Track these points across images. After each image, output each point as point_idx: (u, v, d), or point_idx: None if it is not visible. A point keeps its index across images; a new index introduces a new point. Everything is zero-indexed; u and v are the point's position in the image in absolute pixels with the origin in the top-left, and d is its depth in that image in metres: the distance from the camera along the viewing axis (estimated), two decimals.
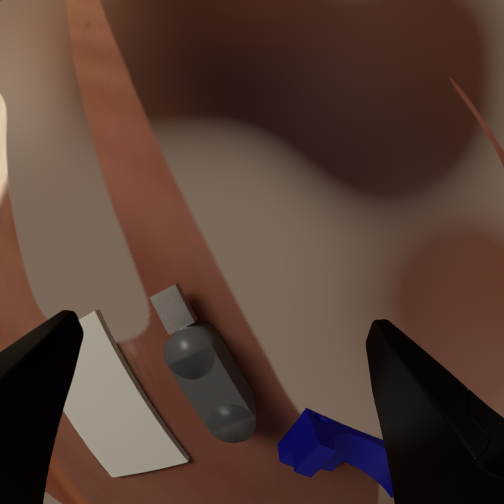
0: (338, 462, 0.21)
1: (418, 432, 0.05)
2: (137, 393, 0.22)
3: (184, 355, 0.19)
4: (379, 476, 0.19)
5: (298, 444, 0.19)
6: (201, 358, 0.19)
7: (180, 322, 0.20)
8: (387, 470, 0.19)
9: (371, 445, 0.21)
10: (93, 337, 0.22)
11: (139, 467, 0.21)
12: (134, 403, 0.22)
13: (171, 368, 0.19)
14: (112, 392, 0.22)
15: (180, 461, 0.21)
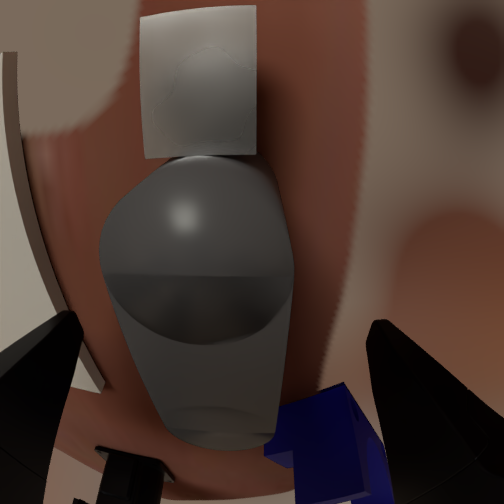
0: None
1: (418, 432, 0.05)
2: (32, 263, 0.09)
3: (174, 267, 0.05)
4: None
5: (313, 452, 0.11)
6: (232, 298, 0.05)
7: (205, 132, 0.05)
8: None
9: (372, 450, 0.15)
10: None
11: None
12: (24, 277, 0.09)
13: (112, 286, 0.05)
14: None
15: (88, 388, 0.13)
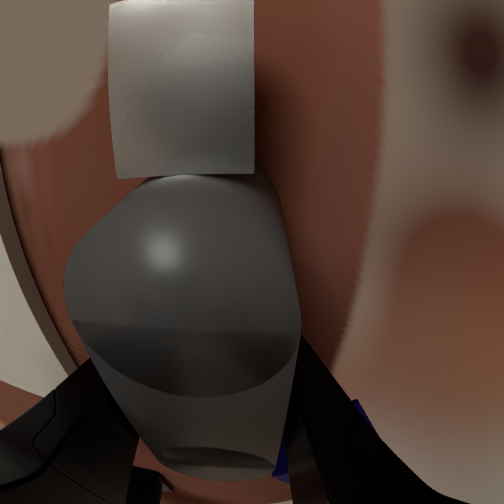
0: None
1: (298, 451, 0.05)
2: (15, 282, 0.08)
3: (152, 320, 0.04)
4: None
5: None
6: (225, 355, 0.04)
7: (188, 145, 0.04)
8: None
9: None
10: None
11: (17, 382, 0.12)
12: (8, 297, 0.08)
13: (84, 333, 0.04)
14: None
15: None
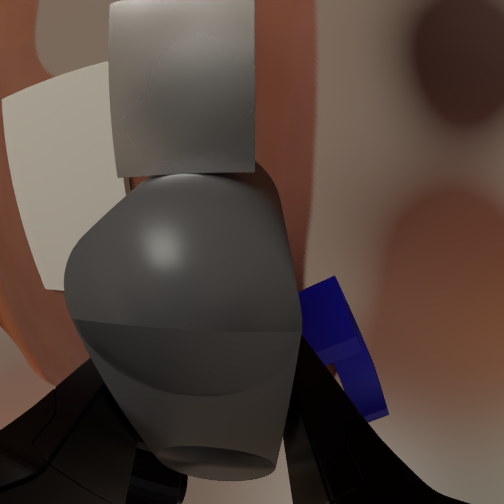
0: None
1: (298, 451, 0.05)
2: (122, 187, 0.16)
3: (152, 319, 0.04)
4: (350, 390, 0.22)
5: (316, 318, 0.18)
6: (225, 354, 0.04)
7: (189, 143, 0.04)
8: (361, 388, 0.22)
9: (363, 352, 0.22)
10: (94, 95, 0.13)
11: None
12: (111, 199, 0.17)
13: (84, 332, 0.04)
14: (87, 177, 0.16)
15: None
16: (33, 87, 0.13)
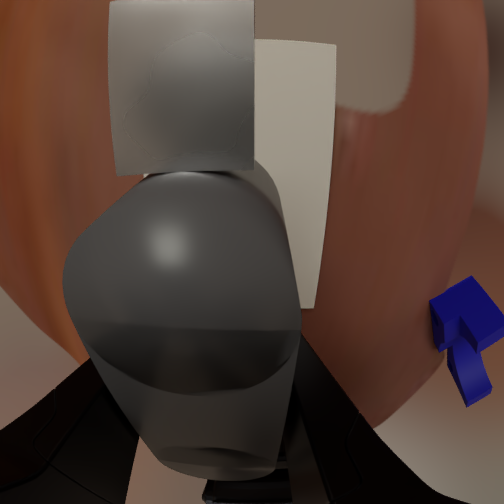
0: (449, 345, 0.21)
1: (298, 451, 0.05)
2: (326, 189, 0.15)
3: (151, 317, 0.04)
4: (463, 376, 0.21)
5: (472, 312, 0.17)
6: (224, 353, 0.04)
7: (188, 141, 0.04)
8: (472, 373, 0.21)
9: None
10: (307, 77, 0.12)
11: None
12: (308, 201, 0.16)
13: (83, 331, 0.04)
14: (282, 172, 0.15)
15: (304, 305, 0.19)
16: None
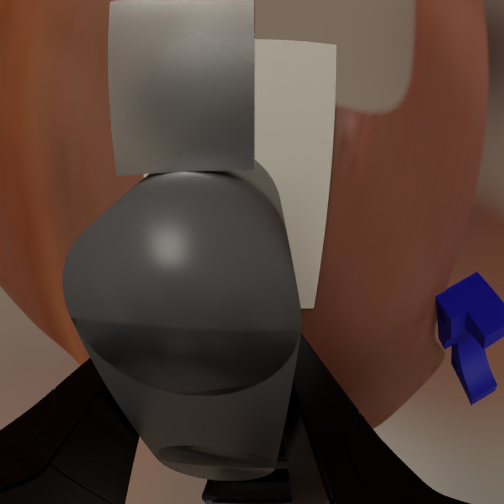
0: (455, 342, 0.21)
1: (298, 451, 0.05)
2: (326, 189, 0.15)
3: (151, 317, 0.04)
4: (468, 373, 0.21)
5: (479, 307, 0.17)
6: (224, 353, 0.04)
7: (188, 141, 0.04)
8: (476, 370, 0.20)
9: None
10: (307, 77, 0.12)
11: None
12: (308, 201, 0.16)
13: (83, 331, 0.04)
14: (282, 172, 0.15)
15: (304, 305, 0.19)
16: None
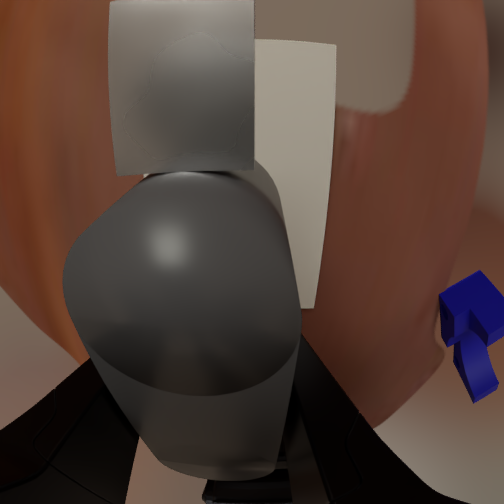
0: (457, 340, 0.21)
1: (298, 451, 0.05)
2: (326, 189, 0.15)
3: (151, 317, 0.04)
4: (470, 372, 0.21)
5: (482, 305, 0.16)
6: (224, 353, 0.04)
7: (188, 141, 0.04)
8: (478, 369, 0.20)
9: None
10: (307, 77, 0.12)
11: None
12: (308, 201, 0.16)
13: (83, 331, 0.04)
14: (282, 172, 0.15)
15: (304, 305, 0.19)
16: None
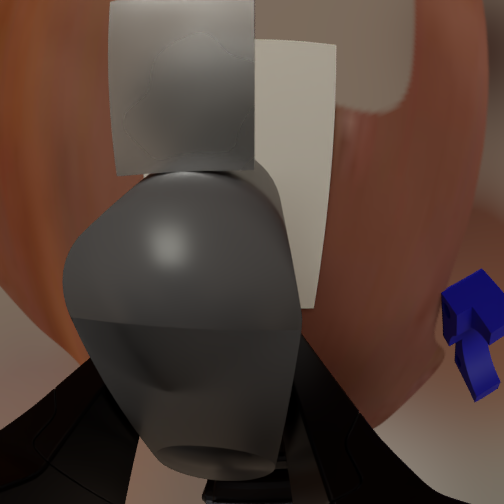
0: (459, 339, 0.21)
1: (298, 451, 0.05)
2: (326, 189, 0.15)
3: (151, 317, 0.04)
4: (472, 370, 0.21)
5: (484, 303, 0.16)
6: (224, 353, 0.04)
7: (188, 141, 0.04)
8: (480, 367, 0.20)
9: None
10: (307, 77, 0.12)
11: None
12: (308, 201, 0.16)
13: (83, 331, 0.04)
14: (282, 172, 0.15)
15: (304, 305, 0.19)
16: None
